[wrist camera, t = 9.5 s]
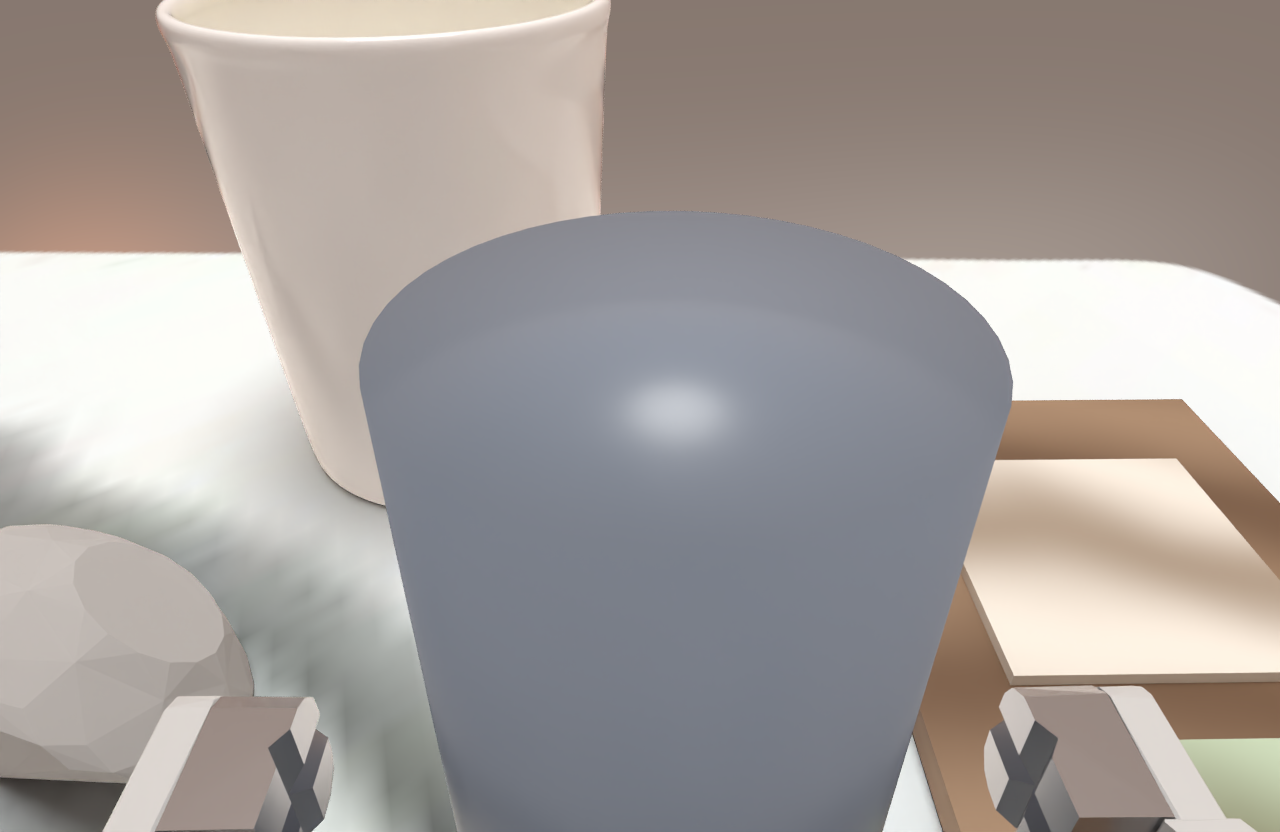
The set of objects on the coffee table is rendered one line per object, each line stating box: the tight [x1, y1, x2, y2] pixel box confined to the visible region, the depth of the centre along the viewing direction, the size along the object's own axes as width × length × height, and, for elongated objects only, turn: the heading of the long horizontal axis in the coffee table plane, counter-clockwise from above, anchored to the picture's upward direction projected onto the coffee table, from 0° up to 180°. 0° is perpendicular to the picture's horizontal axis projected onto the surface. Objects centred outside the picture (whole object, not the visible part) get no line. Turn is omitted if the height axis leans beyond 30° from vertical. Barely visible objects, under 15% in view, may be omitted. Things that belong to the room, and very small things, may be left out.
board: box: [912, 399, 1280, 832], centre depth 17 cm, size 22×11×1 cm, turn 1°
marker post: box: [359, 211, 1013, 832], centre depth 10 cm, size 5×5×12 cm
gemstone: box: [0, 524, 254, 783], centre depth 17 cm, size 6×6×5 cm
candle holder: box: [156, 0, 611, 506], centre depth 23 cm, size 10×10×12 cm
